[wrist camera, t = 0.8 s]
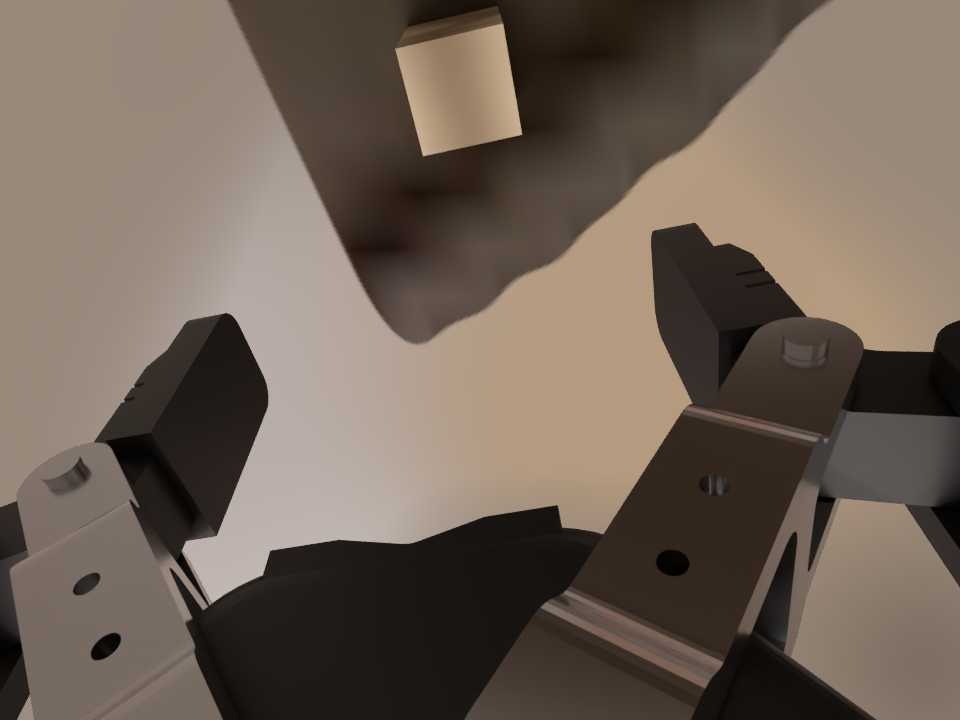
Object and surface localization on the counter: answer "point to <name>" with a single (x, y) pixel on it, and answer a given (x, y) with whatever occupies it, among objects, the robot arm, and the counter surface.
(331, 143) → the counter surface
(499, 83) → the maple block
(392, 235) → the counter surface
